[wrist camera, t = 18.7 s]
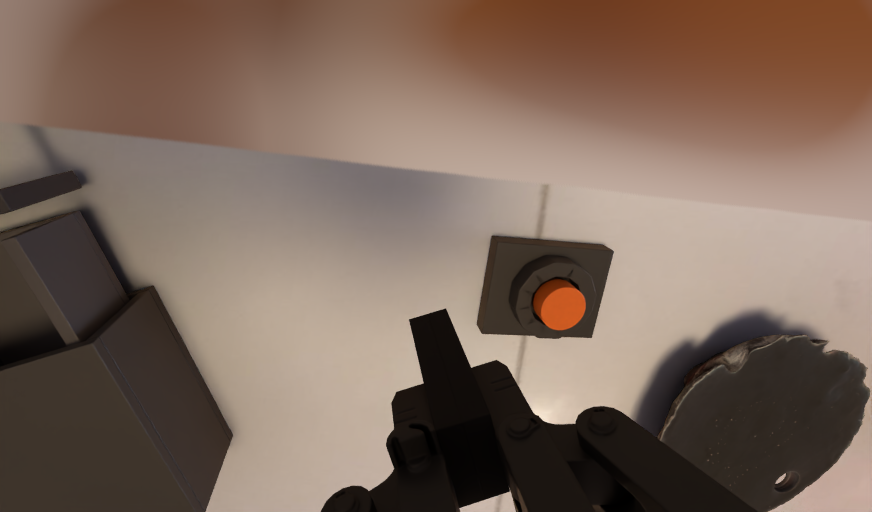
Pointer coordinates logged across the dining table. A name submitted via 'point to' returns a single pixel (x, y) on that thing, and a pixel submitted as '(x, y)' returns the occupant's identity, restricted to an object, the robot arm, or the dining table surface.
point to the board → (768, 416)
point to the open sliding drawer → (51, 276)
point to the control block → (539, 284)
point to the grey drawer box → (111, 422)
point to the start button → (559, 304)
